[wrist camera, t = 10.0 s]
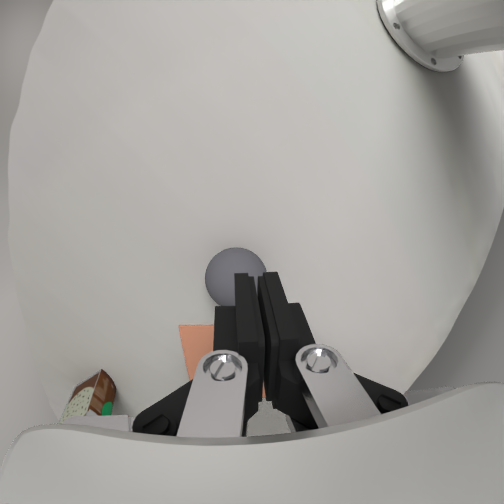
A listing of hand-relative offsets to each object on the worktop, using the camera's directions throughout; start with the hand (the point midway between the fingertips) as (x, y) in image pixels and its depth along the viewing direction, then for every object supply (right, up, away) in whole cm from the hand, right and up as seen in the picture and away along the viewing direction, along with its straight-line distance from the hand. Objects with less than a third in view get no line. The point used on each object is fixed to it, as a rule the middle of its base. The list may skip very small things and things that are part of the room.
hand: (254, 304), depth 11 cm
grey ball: (-1, 0, +13) cm, 14 cm away
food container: (-23, -19, +23) cm, 38 cm away
